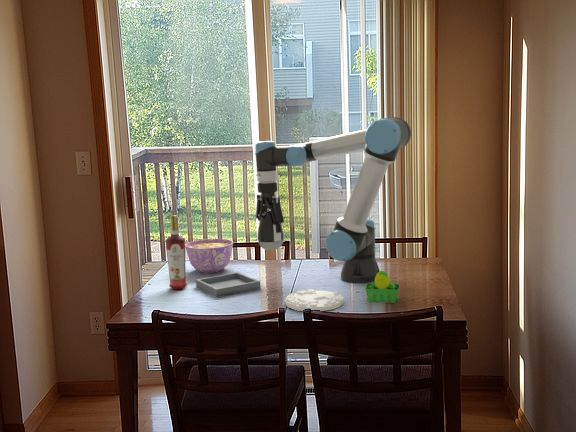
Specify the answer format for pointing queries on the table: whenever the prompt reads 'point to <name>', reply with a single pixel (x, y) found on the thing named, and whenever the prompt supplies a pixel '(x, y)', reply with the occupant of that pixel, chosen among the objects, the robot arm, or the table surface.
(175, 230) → the liquor
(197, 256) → the bowl of food
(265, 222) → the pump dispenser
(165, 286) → the table surface
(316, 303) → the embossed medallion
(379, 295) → the fruit basket
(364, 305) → the table surface
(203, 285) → the tray
